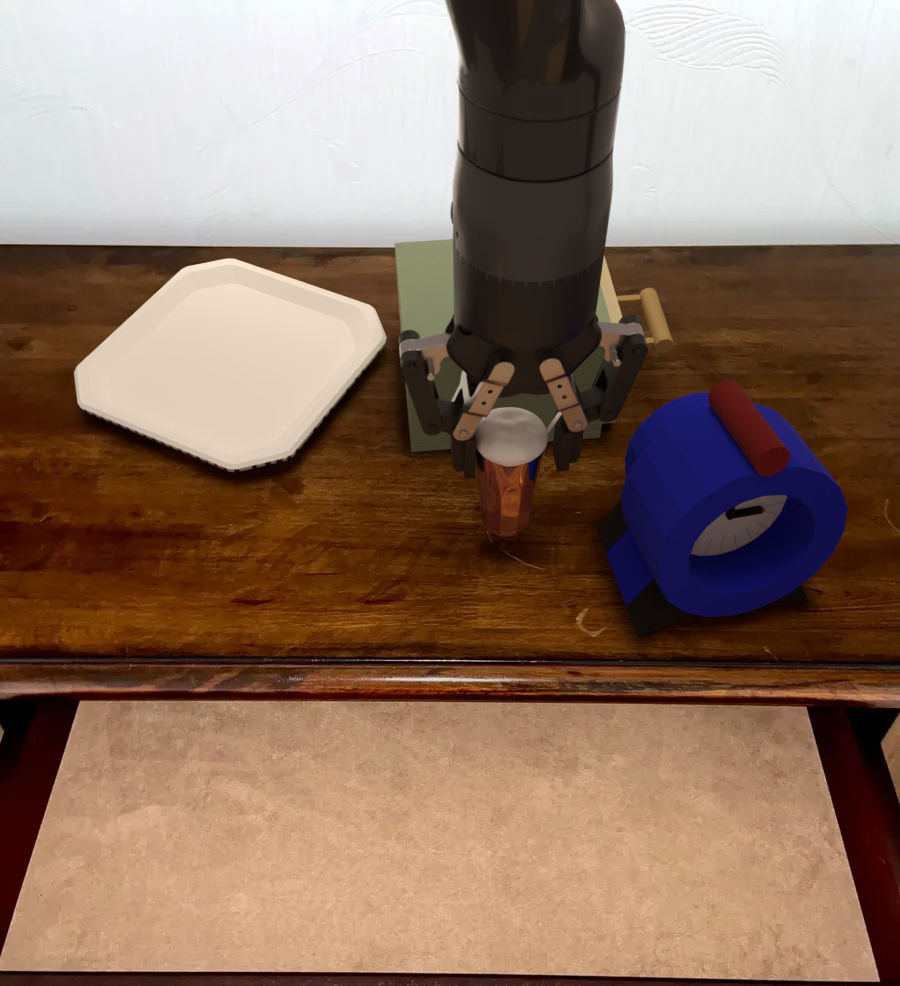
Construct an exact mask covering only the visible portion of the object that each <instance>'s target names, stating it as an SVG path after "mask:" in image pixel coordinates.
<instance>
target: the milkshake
mask: <svg viewBox="0 0 900 986" xmlns="http://www.w3.org/2000/svg"><path fill="white" fill-rule="evenodd" d="M561 415H562V413H561V412H559V411H558V413H557V414H556V416H555V417H554V419H553V420H552V422H551V423H550V425H549V426H548V428H547V429H546V427H545V425H544V423H543V422H542V421H541V419H540V418H539V417H538V416H536V415H535V414H533V413H532V412H529V411H527V410H525V409H521V408H516V407H505V408H497V409H493V410H491V411H490V413H489V415H488V416H487V417H486V418H485V417H483V418H482V420H481V421H480V423H479V425H478V427H477V429H476V431H475V435H476V473H477V483H478V496H479V508H480V509H479V510H480V519H481V522H482V523H483V525H484V527H485V529H486V530H487V532H489V533H492V534H494V535H496V536H497V537H500V538H505V537H516V536H517V535H519V534H521V533H522V532H523V531H525V530H526V529H527V528H528V525H529V520H530V517H531V511H532V507H533V503H534V497H535V492H536V488H537V487H536V486H537V482H538V477H539V475H540V473H541V467H542V464H543V460H544V457H545V452H546V448H547V445H548V442H547V441H548V434H549V432H550V431H551V430H552V428H553V427H554V425H555V424H556V422H557V421H558V419H559V418H560V416H561Z"/></svg>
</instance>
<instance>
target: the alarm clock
mask: <svg viewBox="0 0 900 986" xmlns="http://www.w3.org/2000/svg"><path fill="white" fill-rule="evenodd" d="M624 470H625V476H626V478H625V481H624V485H623V488H622V491H621V495H620V500H619V501H618V502H617V503H616V504H615V506H614V507H613V508H612V509H611V510H610V511H609V513H608V514H607V515H606V516H605V517H604V518H603V520H602V521H600V523H599V524H598V525H597V526H596V531H597V533H598V536H599V539H600V541H601V544H602V546H603V549H604V551H605V554H606V556H607V560H608V562H609V565H610V567H611V570H612V572H613V575H614V579H615V581H616V582H617V586H618V588H619V591H620V593H621V596H622V599H623V601H624V604H625V606H626V609H627V612H628V614H629V617H630V619H631V623H632V625H633V628H634V630H635V633H636V635H637V638H640V637H642V636H646V635H648V634H651V633H654V632H655V631H658V630H660V629H663V628H665V627H668V626H671V625H673V624H675V623H678V622H680V621H683V620H685V619H688V618H691V617H693V616H695V615H697V616H700V617H701V616H702V617H707V618H715V617H727V616H737V615H741V614H743V613H747V612H750V611H754V610H757V609H760V608H764V607H765V606H768V605H769V604H771V603H773V602H775V601H776V602H777V601H778V602H791V603H802V604H803V603H805V604H810V603H811V602H810V600H809V598H808V596H807V594H806V591H805V589H804V587H803V584H804V583H805V582H808V580H810V579H811V578H812V577H813V576H815V574H816V573H817V572H818V571H819V570H820V569H821V567H822V566H823V565H824V564H825V563H826V562H827V561H828V559H830V557H831V556H832V555H833V554H834V552H835V550H836V548H837V546H838V544H839V542H840V541H841V538H842V536H843V534H844V533H845V531H846V523H847V516H848V505H847V501H846V498H845V496H844V495H845V494H844V493H843V490H842V487H841V486H840V485H839V483H837V480H835V478H834V477H833V475H831V474H830V472H829V471H828V469H827V468H826V467H825V466H824V465H823V463H822V461H821V460H820V459H819V458H818V457H817V456H816V454H815V453H814V452H813V450H811V448H810V447H809V445H808V444H807V443H806V442H805V440H804V439H803V438H802V436H801V435H800V434H799V433H798V432H797V430H796V429H795V428H794V426H793V425H792V424H791V423H790V422H789V421H788V420H787V419H786V418H785V417H784V416H782V415H781V414H780V413H779V412H778V411H777V410H776V409H773V408H771V407H768V406H764V405H761V404H759V403H755V402H753V401H752V400H751V399H750V397H749V396H748V395H747V394H746V392H745V391H744V390H743V388H742V386H741V385H740V384H739V383H738V382H737V381H736V380H733V379H724V380H721V381H719V382H717V383H716V384H715V385H714V386H713V387H711V389H710V390H709V392H694V393H691V394H688V395H684V396H680V397H678V398H674V399H673V400H671V401H669V402H668V403H666V404H664V405H662V406H661V407H659V408H657V409H655V410H654V411H653V412H652V413H651V414H650V415H649V416H648V417H647V418H646V419H645V420H644V421H643V422H642V423H640V424H639V426H638V428H637V429H636V431H635V432H634V434H633V436H631V439H630V440H629V442H628V445H627V449H626V452H625V455H624Z"/></svg>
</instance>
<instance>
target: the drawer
mask: <svg viewBox="0 0 900 986" xmlns="http://www.w3.org/2000/svg"><path fill="white" fill-rule="evenodd" d="M606 259H607V258H606V257H605V255H604V259H603V266H602V273H601V281H600V285H601V289H602V292H603V296H604V299H605V303H606V306H607V310H608V313H609V317H610V320H611V323H618V322H619V320H620V319H621V318H622V317H623V313H622V311H621V307H631V306H640V307H641V311H642V313H643V316H644V320H645V323H646V325H647V330H648V332H649V335H650V337H645V340H646V344H647V347H648V350H649V349H654V351H655V353H657V354H662V355H663V354H667V353H669V352H670V351H671V350H672V349H673V348H674V341H673V337H672V335H671V332H670V328H669V325H668V322H667V320H666V317H665V313H664V311H663V308H662V305H661V302H660V298H659V294H658V293H657V290H656V289H655V288H653V287H645V288H643V289H642V290H641V291H640V292H639V293H638V294H627V295H626V294H625V295H617V294H616V291H615V287H614V283H613V280H612V276H611V273H610V270H609V267H608V262H607V260H606ZM616 422H617V418H616V419H615V420H614V421H611V422H602V425H604V424H614V423H616Z"/></svg>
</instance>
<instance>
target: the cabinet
mask: <svg viewBox="0 0 900 986" xmlns="http://www.w3.org/2000/svg"><path fill="white" fill-rule="evenodd" d="M394 257H395V268H396V269H395V271H396V285H397V297H398V299H397V300H398V312H399V324H400V327H399V328H400V334H401V333H402V332H403V331H406V330H414V331H416V332H417V333H418V334H419V335H420V338H424V337H428V336H432V335H437V334H441V333H445V329H446V327H447V325H448V323H449V322H450V320H451V318H452V316H453V313H454V276H453V238H448V239H434V240H431V239H430V240H418V241H404V242H403V241H402V242H394ZM596 315H597V317H598V321H601V322H610V323H611V320H610V317H609V313H608V310H607V306H606V303H605V299H604V296H603V292H602V289H601V285H600V288H599V295H598V302H597V309H596ZM603 358H604V355H603V351H602V347H601V346H598V348H597V349H596V350H595V351H594V352H593V353H592V354H591V355H590V356H589V357H588V358H587V359H586V360H585V361H584V362H583V363H582V364H581V365H580V366H579V367H578V368H577V369H576V370H575V371H574V372H573V376H574V378H575V381H576V383H577V385H578V388H579V390H580V392H582V391H585V390H588V389H591V388H592V385H593V382H594V380H595V377H596V375H597V373H598V370H599V368H600V365H601V363H602V360H603ZM440 367H441V370H440V372H439V373H438V374H437V375H435V379H434V382H435V385H436V388H437V392H438V395H439V398H440V399H442V400H448V401H451V400H452V398H453V396H454V394H455V392H456V390H457V388H458V386H459V384H460V380H461V374H462V371H463V370H462V369H461V368H460V367H459V366H458V365H457V364H456V363H455V362H454V361H453V360H452V359H451V358H450V357H449V356H448V357H446V358H444V359H443V360H442V362H441V364H440ZM404 385H405V396H406V407H407V417H408V428H409V439H410V441H409V442H410V451H411V453H417V452H418V453H419V452H432V451H445V450H451V435H450V434H448V433H446V432H442V431H441V432H440V433H439V434H437V435H427V434H425V433H424V432H423V430H422V427H421V424H420V421H419V418H418V415H417V413H416V410H415V407H414V404H413V401H412V399H411V396H410V393H409V390H408V387H407V384H406V382H405V381H404ZM505 407H516V408H521V409H525V410H527V411H529V412H532V413H533V414H535V415H536V416H538V417H539V418H540V419H541V421H542V422H543V423H544V425H545V427H546V429H547V428H548V426H549V425H550V423H551V422H552V420H553V419H554V417H555V416H556V410H557V406H556V403H555V401H554V399H553V397H552V395H551V392H549V394H543V395H532V394H524V393H522V394H518V395H515V396H511V397H504V398H498V399H497V400H496V402H495V404H494V406H493V408H492V409H491V410H493V409H497V408H505ZM602 425H603V424H602V421H601V420H600V419H597V420H594V421H591V422H590V423H588V425H587V427H586V428H585V429H584V432H583V439H582V440H589V439H601V438H600V437H601V433H602V427H603V426H602ZM554 429H555V425H554V427H553V428H552V430H551V431H550V432H549V434H548V441H547V443H548V442H549V443H550V442H553V438H554Z"/></svg>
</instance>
